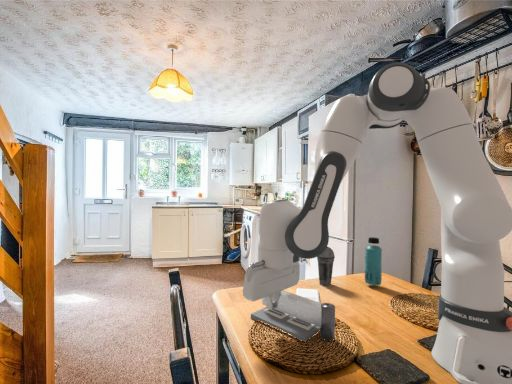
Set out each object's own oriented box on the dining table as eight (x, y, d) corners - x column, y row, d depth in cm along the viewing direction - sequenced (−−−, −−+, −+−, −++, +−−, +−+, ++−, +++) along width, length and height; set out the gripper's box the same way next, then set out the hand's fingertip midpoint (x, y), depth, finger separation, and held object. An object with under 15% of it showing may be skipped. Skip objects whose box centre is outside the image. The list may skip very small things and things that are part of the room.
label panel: (335, 321, 81) (335, 316, 81) (304, 342, 69) (304, 336, 69) (283, 302, 94) (283, 298, 94) (250, 317, 82) (250, 312, 82)
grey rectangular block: (337, 337, 71) (337, 305, 71) (330, 342, 69) (330, 310, 69) (269, 309, 87) (269, 283, 87) (261, 313, 85) (262, 286, 85)
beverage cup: (336, 283, 115) (337, 235, 115) (331, 288, 109) (332, 238, 109) (319, 280, 119) (320, 234, 119) (313, 284, 113) (314, 236, 113)
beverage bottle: (382, 285, 113) (383, 237, 113) (380, 290, 108) (381, 239, 108) (365, 282, 117) (366, 235, 117) (362, 287, 111) (363, 237, 111)
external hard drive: (318, 294, 104) (319, 307, 92) (296, 292, 106) (295, 304, 94) (318, 289, 104) (319, 302, 92) (296, 287, 106) (295, 300, 94)
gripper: (256, 267, 66) (254, 324, 66) (304, 254, 81) (302, 301, 81) (238, 261, 70) (236, 315, 70) (286, 250, 85) (285, 295, 85)
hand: (272, 307), depth 76 cm, fingers closed
